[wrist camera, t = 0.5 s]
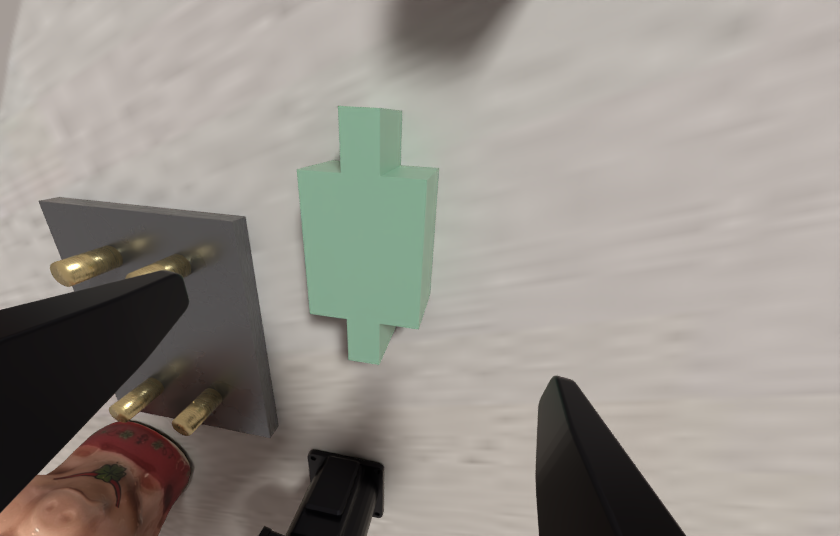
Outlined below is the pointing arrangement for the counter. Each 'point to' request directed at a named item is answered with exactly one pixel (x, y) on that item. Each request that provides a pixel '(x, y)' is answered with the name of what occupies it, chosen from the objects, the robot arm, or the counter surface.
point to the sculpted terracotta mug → (103, 488)
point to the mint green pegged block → (368, 232)
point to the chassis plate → (199, 325)
